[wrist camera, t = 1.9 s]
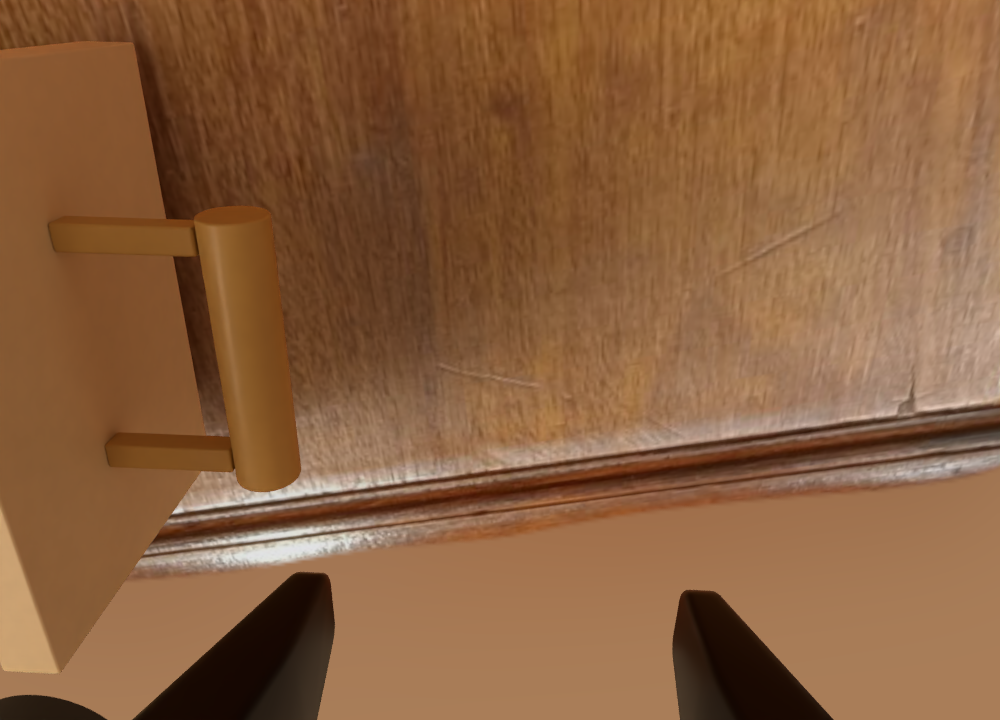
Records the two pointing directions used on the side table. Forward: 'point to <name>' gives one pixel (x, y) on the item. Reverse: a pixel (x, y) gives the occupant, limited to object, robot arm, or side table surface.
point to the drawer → (112, 346)
